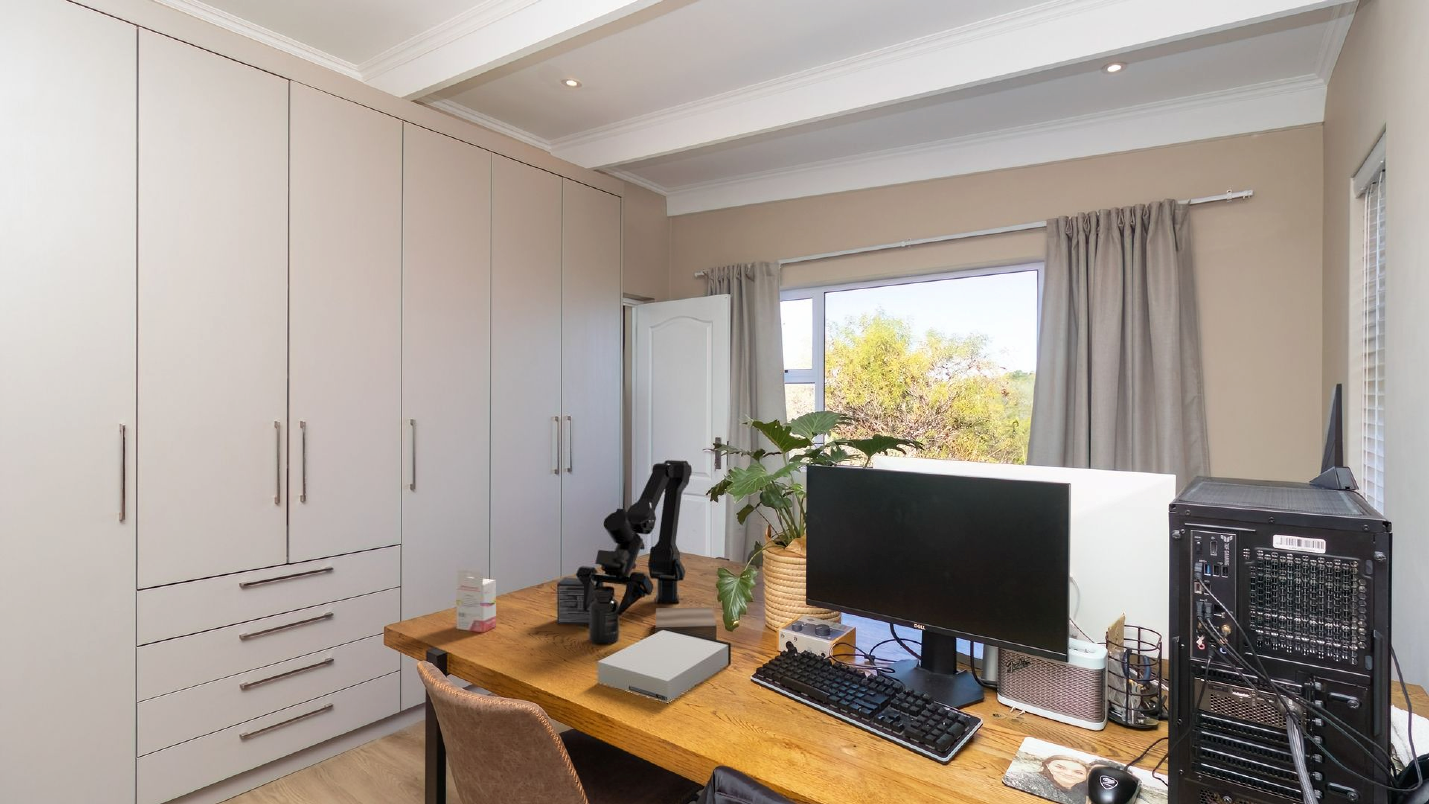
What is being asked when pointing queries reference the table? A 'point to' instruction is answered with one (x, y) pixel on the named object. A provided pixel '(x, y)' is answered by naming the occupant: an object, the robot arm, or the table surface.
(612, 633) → the supplement bottle
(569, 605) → the small box
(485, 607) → the ink cartridge box
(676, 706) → the table surface
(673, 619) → the walnut block
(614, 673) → the disc drive
